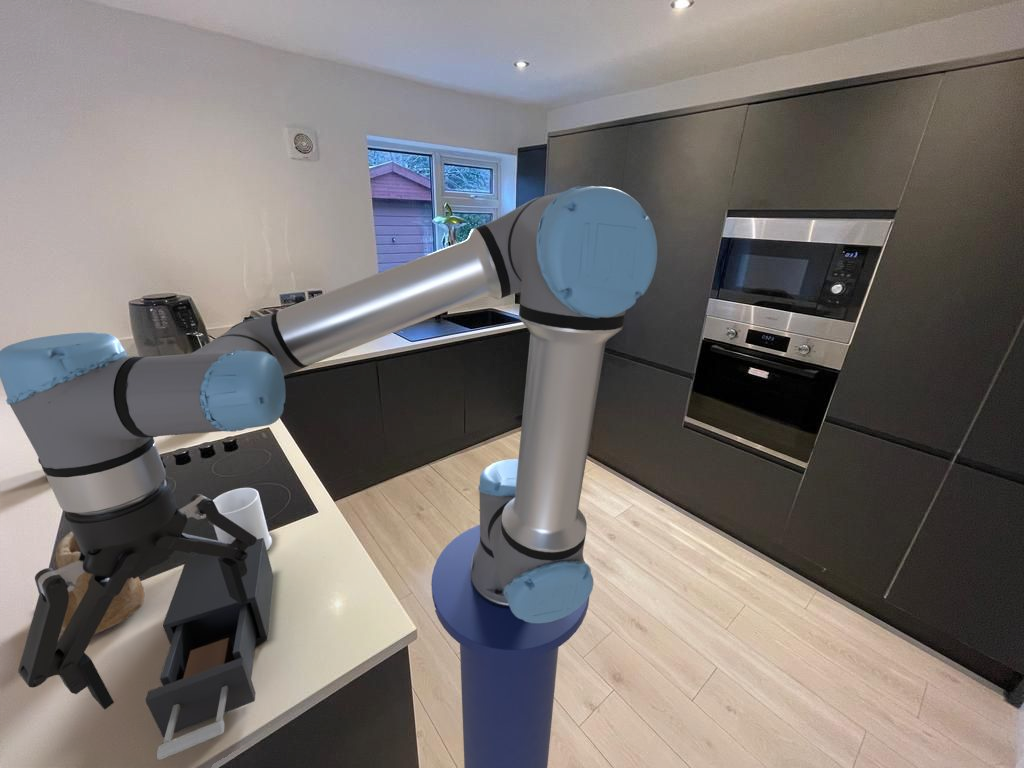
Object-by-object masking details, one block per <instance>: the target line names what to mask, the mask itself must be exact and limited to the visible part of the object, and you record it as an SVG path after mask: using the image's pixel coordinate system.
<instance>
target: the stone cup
mask: <svg viewBox="0 0 1024 768" xmlns="http://www.w3.org/2000/svg"><path fill="white" fill-rule="evenodd" d="M79 557H80V548H79V545H78V543H77V541H76V539H75V537H74V535H73V533H72V531H71V530H70V532H69V533H67V534H66V535H65V536H64V537H63V538H62V539H60V541H59V543H58V544H57V545H56V548H55V560H56V566H57V569H60V568H62V567H64V566H67V565H69V564H71V563H74V562H76V561H78V559H79ZM91 576H92V574H88V573H86V572H85V573H83V574H82V575H80V576H79V577H78V579H77V582H76V585H75V589H74V590H72V591H70V592H68V594H69V602H68V606H67V610H66V614H65V617H64V621H63V625H62V628H61V630H62V633H63V632H64V630H65V628H66V627H67V625H68V623H69V621H70V619H71V618H72V616H73V614H74V612H75V611H76V609H77V607H78V605H79V603H80V602H81V600H82V598H83V596H84V595H85V593H86V591H87V589H88V582H89V580H90V578H91ZM109 579H110V577H109ZM144 599H145V589H144V586H143V583H142V581H141V579H140V576H138V577H137V578H135V579H134V578H129V579H127V581H126V582H125V584H124V586H123V588H122V590H121V592H120V593H119V594H118V595H117V596H115V597H114V598H113V600H112V602H111V604H110V606H109V607H108V609H107V611H106V613H105V615H104V617H103V618H102V620H101V622H100V624H99V626H98V628H97V629H96V631H95V633H94V635H97V634H99V633H101V632H104V631H106V630H108V629H110V628H112V627H114V626H116V625H118V624H119V623H121V622H123V621H124V620H127V619H128V618H129V617H131V615H132V614H133V613H135V612H136V611H138V610H140V609H141V608H142V606H143V604H144V601H145V600H144Z"/></svg>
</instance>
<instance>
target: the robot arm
mask: <svg viewBox="0 0 1024 768" xmlns="http://www.w3.org/2000/svg"><path fill="white" fill-rule="evenodd" d="M657 262H658V242H657V235H656V231H655V228H654V225H653V223H652V220H651V219H650V217H649V216H648V215H647V213H646V211H645V210H644V208H643V207H642V205H641V204H640V203H639V202H638V201H637V200H636V199H635V198H634V197H633V196H631V195H629V194H628V193H627V192H624V191H623V190H620V189H617V188H614V187H609V186H594V185H590V186H580V185H577V186H574V187H571V188H568V189H567V190H565V191H561V192H557V193H552V194H551V193H550V194H545V195H542V196H539V197H534V198H532V199H531V200H529V201H527V202H525V203H524V204H521V205H520V206H518V207H516V208H514V209H513V210H510V211H509V212H507V213H505V214H504V215H501V216H499V217H497V218H496V219H494V220H491V221H489V222H487V223H484V224H482V225H479V226H476V227H474V228H472V229H471V230H470V231H469V235H468V237H467V239H465V240H463V241H459V242H458V243H455V244H452V245H449V246H447V247H445V248H441V249H439V250H436V251H433V252H431V253H429V254H426V255H423V256H420V257H418V258H415V259H412V260H410V261H406V262H405V263H401V264H399V265H397V266H394V267H391V268H388V269H386V270H383V271H380V272H378V273H374V274H372V275H370V276H367V277H364V278H361V279H359V280H357V281H354V282H351V283H349V284H345V285H343V286H341V287H338V288H335V289H332V290H330V291H327V292H325V293H322V294H319V295H317V296H314V297H312V298H308V299H306V300H303V301H301V302H298V303H294V304H292V305H290V306H287V307H284V308H282V309H280V310H278V311H276V312H273V313H269V314H266V315H264V316H260V317H253V318H252V317H251V318H248V319H246V320H243V321H240V322H239V323H236V324H234V325H232V326H231V327H230V328H229V329H228V330H227V331H226V332H225V333H223V334H220V335H219V336H218V337H216V338H214V339H213V340H211V341H209V342H208V343H206V344H205V345H203V346H201V347H200V348H198V349H196V350H195V351H193V352H190V353H184V354H171V355H170V354H169V355H158V356H157V355H155V356H139V355H138V356H136V355H135V356H133V355H132V356H128V353H127V352H126V351H127V350H126V349H124V347H123V345H122V343H121V341H120V340H119V339H118V338H117V337H116V336H114V335H113V334H109V333H106V332H105V333H104V332H103V333H101V332H90V331H89V332H73V333H72V332H71V333H61V334H54V335H47V336H40V337H35V338H34V337H33V338H29V339H25V340H21V341H19V342H15V343H11V344H9V345H7V346H5V347H3V348H2V349H0V382H1V384H2V387H3V390H4V392H5V395H6V400H5V401H6V404H7V405H8V406H10V409H11V410H12V412H13V413H14V415H15V417H16V419H17V420H18V423H19V425H20V426H21V428H22V430H23V432H24V434H25V435H26V437H27V439H28V440H29V442H30V444H31V446H32V448H33V450H34V452H35V454H36V456H37V457H38V458H39V459H40V463H39V465H40V466H41V468H42V470H43V473H44V475H45V476H46V479H47V481H48V483H49V486H50V487H51V490H52V492H53V494H54V497H55V499H56V501H57V503H58V505H59V507H60V508H61V510H62V511H65V512H64V518H65V520H66V522H67V524H68V526H69V528H70V532H71V531H72V533H73V535H74V537H75V539H76V541H77V543H78V545H79V548H80V557H79V559H78V561H76V562H74V563H71V564H69V565H67V566H64V567H62V568H60V569H58V568H57V569H53V568H51V567H47V568H43V569H41V570H39V571H38V572H37V573H36V574H35V576H34V581H35V585H36V588H37V591H38V599H37V601H36V605H35V608H34V612H33V616H32V619H31V623H30V626H29V629H28V633H27V637H26V641H25V645H24V648H23V651H22V655H21V659H20V662H19V665H18V669H17V673H18V675H19V676H20V677H21V679H22V680H23V681H24V682H25V683H26V685H27V686H28V687H29V688H37V687H39V686H42V684H43V683H45V682H46V681H47V680H48V679H50V678H52V677H54V676H59V677H60V679H61V681H62V683H63V684H64V686H65V687H66V689H67V690H68V691H69V692H70V693H71V694H74V695H78V694H79V693H81V692H82V691H83V690H84V689H85V690H86V688H87V689H88V691H89V692H90V694H91V696H92V697H93V699H94V700H95V701H96V702H97V704H99V705H100V707H101V708H102V709H103V710H104V711H105V710H107V709H108V708H109V707H111V706H112V705H113V704H114V703H115V702H114V700H113V698H112V695H111V694H110V692H109V690H108V688H107V687H106V685H105V683H104V681H103V679H102V677H101V675H100V673H99V671H98V669H97V668H96V666H95V664H94V662H93V660H92V659H91V657H89V655H88V654H87V653H85V651H86V649H87V648H88V646H89V645H90V642H91V641H92V639H93V637H94V635H95V634H94V633H95V631H96V629H97V628H98V626H99V624H100V622H101V620H102V618H103V617H104V615H105V613H106V611H107V609H108V607H109V606H110V604H111V602H112V600H113V598H114V597H115V596H117V595H118V594H119V593H120V592H121V590H122V588H123V586H124V584H125V582H126V581H127V579H129V578H134V579H135V578H137V577H140V576H142V575H144V574H145V573H147V571H149V570H150V569H152V568H153V567H155V566H158V565H160V564H162V563H164V562H166V561H168V560H170V557H171V555H172V554H174V551H177V552H181V553H182V552H183V553H195V554H206V555H212V556H218V557H219V558H218V561H219V564H220V567H221V571H222V574H223V577H224V580H225V583H226V586H227V589H228V592H229V595H230V597H231V598H233V599H234V600H236V601H237V602H239V603H240V604H242V605H243V604H244V603H245V602H247V601H248V599H247V595H246V592H245V589H244V585H243V582H242V579H241V577H243V576H244V575H246V574H247V567H246V564H245V559H246V558H247V556H248V554H247V552H245V550H246V549H247V548H248V547H249V546H253V545H254V544H255V543H256V541H257V538H256V537H255V536H253V535H252V534H250V533H249V532H247V531H246V530H244V529H243V528H241V527H240V526H238V525H237V524H235V523H234V522H232V521H231V520H229V519H228V518H226V517H225V516H223V515H222V514H220V513H219V511H218V509H217V507H216V505H215V503H214V502H213V499H210V498H208V497H206V496H204V495H203V494H200V493H196V494H193V496H191V498H190V502H189V503H188V504H186V505H185V506H183V507H181V508H178V504H177V501H176V499H175V496H174V493H173V490H172V487H171V485H170V482H169V479H168V478H166V474H167V472H166V469H165V466H164V464H163V461H162V458H161V455H160V452H159V451H158V448H157V445H156V442H155V438H157V437H165V436H178V435H193V434H194V435H195V434H204V433H206V434H207V433H217V432H218V433H219V432H230V433H232V432H233V433H234V432H237V431H238V432H240V431H244V430H247V429H253V428H259V427H267V426H271V425H273V424H274V423H276V422H277V421H278V420H279V419H280V418H281V417H282V415H283V412H284V404H285V403H286V382H285V376H288V375H290V374H292V373H296V372H297V371H300V370H302V369H304V368H305V369H306V368H308V367H309V366H312V365H315V364H317V363H319V362H322V361H324V360H326V359H329V358H332V357H334V356H338V355H339V354H340V355H341V354H342V353H344V352H347V351H350V350H352V349H354V348H357V347H360V346H362V345H365V344H368V343H370V342H373V341H375V340H377V339H380V338H383V337H385V336H388V335H390V334H393V333H396V332H398V331H401V330H404V329H405V328H409V327H411V326H414V325H416V324H419V323H421V322H423V321H426V320H429V319H431V318H434V317H436V316H439V315H442V314H444V313H447V312H449V311H452V310H454V309H457V308H459V307H462V306H464V305H468V304H470V303H472V302H474V301H477V300H480V299H482V298H486V297H491V298H493V299H496V300H501V299H503V298H506V297H508V296H512V295H514V294H519V293H520V299H519V308H518V309H519V310H518V319H519V320H520V321H521V323H522V324H523V325H524V326H525V327H526V328H527V330H528V332H529V334H530V335H529V344H528V346H529V347H528V355H527V356H528V357H527V366H526V375H525V376H526V377H525V388H524V398H523V408H522V416H521V417H522V419H521V427H520V428H521V429H520V440H519V448H518V449H519V450H518V459H514V458H513V459H504V460H503V459H502V460H500V461H495V462H493V463H490V465H489V466H486V467H485V468H484V469H483V470H482V471H481V473H480V476H479V484H478V488H477V489H478V492H479V525H480V541H479V543H478V546H477V549H476V551H475V554H474V553H473V555H474V556H472V562H471V582H472V585H473V588H474V589H475V591H476V593H477V594H478V595H479V596H480V597H481V598H482V599H483V600H485V601H486V602H488V603H490V604H492V605H494V606H497V607H501V608H507V609H511V611H512V613H513V614H514V615H515V616H516V617H517V618H519V619H522V620H524V621H526V622H529V623H547V622H552V621H555V620H558V619H561V618H563V617H565V616H567V615H569V614H571V613H572V612H573V611H575V610H577V609H578V608H579V607H580V606H581V605H583V604H584V602H585V601H586V600H587V599H588V597H589V596H590V597H591V595H592V591H593V588H594V577H593V575H592V570H591V567H590V565H589V564H588V563H586V561H585V559H584V547H585V542H586V535H587V530H588V529H587V528H588V527H587V526H588V525H587V519H586V517H585V515H584V513H583V512H582V511H581V509H579V508H580V507H579V506H580V500H581V494H582V488H583V484H584V476H585V471H586V466H587V465H586V463H587V459H588V453H589V446H590V441H591V435H592V434H591V433H592V429H593V428H592V427H593V423H594V422H593V421H594V415H595V410H596V404H597V398H598V397H597V396H598V391H599V387H600V386H599V385H600V381H601V379H600V378H601V374H602V373H601V372H602V366H603V361H604V355H605V348H606V343H607V341H608V340H609V339H611V338H612V337H613V336H615V335H616V334H618V333H619V332H621V331H622V330H623V327H624V321H625V315H626V311H627V310H629V309H631V308H632V307H633V306H634V305H635V304H636V303H637V299H639V298H640V297H641V296H644V295H645V293H646V292H647V290H648V288H649V286H650V285H651V283H652V281H653V278H654V275H655V272H656V269H657V268H656V267H657ZM190 518H193V519H195V520H206V521H207V522H209V523H211V524H212V525H213V524H214V525H215V526H217V527H218V528H220V529H221V530H223V531H225V532H226V533H228V534H229V535H231V536H233V537H234V538H236V539H235V540H234V541H233V542H232V543H227V542H222V541H218V539H212V538H206V537H203V536H197V535H193V534H188V533H185V532H184V531H185V528H186V526H187V523H188V519H190ZM214 525H213V526H214ZM85 572H86V573H88V574H92V576H91V578H90V580H89V582H88V589H87V591H86V593H85V595H84V596H83V598H82V600H81V602H80V603H79V605H78V607H77V609H76V611H75V612H74V614H73V616H72V618H71V619H70V621H69V623H68V625H67V627H66V628H65V630H64V632H63V631H62V625H63V621H64V617H65V614H66V610H67V606H68V602H69V594H68V592H70V591H72V590H74V589H75V585H76V582H77V579H78V577H79V576H80V575H82V574H83V573H85ZM109 577H110V579H109ZM590 597H589V598H590ZM61 631H62V634H61Z"/></svg>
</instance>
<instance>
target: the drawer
mask: <svg viewBox="0 0 1024 768" xmlns="http://www.w3.org/2000/svg"><path fill="white" fill-rule="evenodd" d="M256 634H257V623H256V620H255V617H254V613H253V610H252V606H251V603H247V604H244V605H241V606H237V607H234V608H231V609H228V610H225V611H221V612H218V613H215V614H212V615H208V616H205V617H202V618H199V619H196V620H192V621H189V622H186V623H183V624H180V625H177V627H176V630H175V633H174V636H173V639H172V643H171V645H170V646H169V649H168V652H167V655H166V658H165V661H164V665H163V667H162V671H161V673H160V676H159V681H160V683H161V686H158V687H156V688H153V689H150V690H148V691H147V694H146V697H145V703H146V705H147V707H148V710H149V711H150V714H151V716H152V718H153V720H154V722H155V724H156V726H157V728H158V730H159V732H160V734H161V736H162V738H163V741H162V743H161V744H159V745H158V747H157V750H156V758H157V760H158V761H160V760H163V759H166V758H168V757H171V756H173V755H175V754H178V753H180V752H182V751H185V750H187V749H191V748H192V747H194V746H196V745H199V744H202V743H204V742H206V741H208V740H212V739H213V738H216V737H218V736H221V735H223V734H224V732H225V721H224V715H225V714H226V713H228V712H231V711H233V710H236V709H238V708H241V707H243V706H246V705H249V704H251V703H253V702H255V700H256V690H255V687H254V685H253V681H252V674H253V665H254V659H255V651H256V650H255V649H256V643H255V642H256ZM226 638H229V639H230V642H231V645H232V648H233V656H234V659H235V660H234V661H231V662H228V663H225V664H223V665H220V666H217V667H214V668H211V669H209V670H206V671H203V672H200V673H197V674H195V675H192V676H189V677H186V678H184V679H183V676H184V673H185V669H186V665H187V662H188V658H189V654H190V651H191V650H193V649H196V648H199V647H202V646H205V645H208V644H211V643H214V642H217V641H220V640H223V639H226ZM213 718H215V722H213V723H210V724H208V725H205V726H203V727H200V728H198V729H195V730H193V731H191V732H188V733H185V734H182V735H181V736H178V737H176V738H174V739H173V735H174V734H176V733H178V732H181V731H184V730H186V729H188V728H191V727H193V726H196V725H198V724H200V723H203V722H206V721H208V720H211V719H213Z"/></svg>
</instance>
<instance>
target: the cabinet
mask: <svg viewBox="0 0 1024 768" xmlns="http://www.w3.org/2000/svg"><path fill="white" fill-rule="evenodd" d="M245 552H247V554H248V556H247V558H246V559H245V564H246V567H247V574H246V575H244V576H243V577H241V579H242V582H243V585H244V589H245V592H246V595H247V599H248V601H247V602H245V603H244V604H247V603H251V606H252V610H253V613H254V617H255V620H256V623H257V634H256V642H255V644H257V643H260V642H263V641H266V640H268V636H269V626H270V625H269V624H270V617H271V605H272V597H273V596H272V595H273V583H274V573H273V568H272V565H271V561H270V558H269V553H268V550H267V549H266V545H265V542H264V538H260V539H257V541H256V543H255V544H254V545H253V546H249V547H248V548H247V549H246V550H245ZM218 558H219V557H218V556H212V555H206V554H201V553H197V554H194V555H190V556H187V557H186V559H185V562H184V565H183V567H182V570H181V573H180V576H179V578H178V582H177V584H176V587H175V590H174V593H173V595H172V598H171V601H170V604H169V607H168V609H167V612H166V615H165V618H164V620H163V623H162V628H163V630H164V633H165V635H166V638H167V640H168V643H169V645H170V646H171V643H172V639H173V636H174V633H175V630H176V627H177V625H180V624H183V623H186V622H189V621H192V620H196V619H199V618H202V617H205V616H208V615H212V614H215V613H218V612H221V611H225V610H228V609H231V608H234V607H237V606H241V605H242V604H240V603H239V602H237V601H236V600H234V599H233V598H231V597H230V595H229V592H228V589H227V586H226V583H225V580H224V577H223V574H222V571H221V567H220V564H219V561H218ZM244 604H243V605H244Z"/></svg>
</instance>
